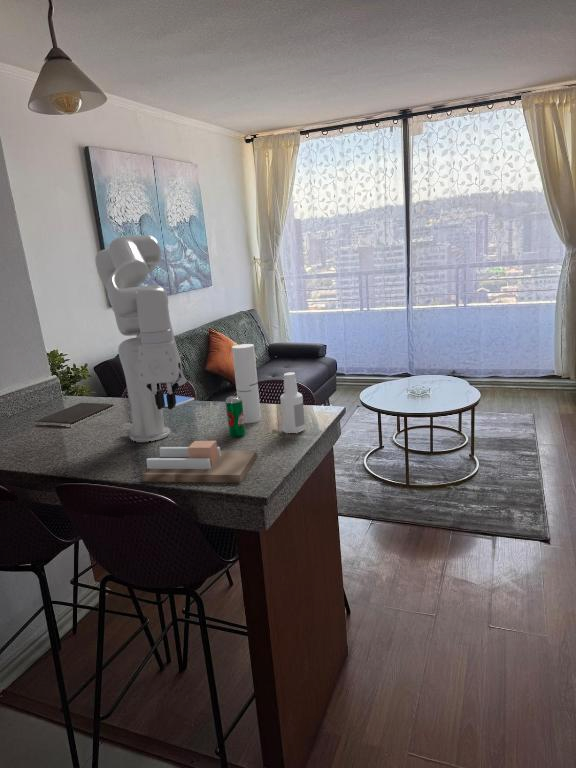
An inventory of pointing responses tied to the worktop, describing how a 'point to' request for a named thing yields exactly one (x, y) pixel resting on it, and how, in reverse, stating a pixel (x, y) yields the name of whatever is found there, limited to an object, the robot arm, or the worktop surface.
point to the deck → (208, 470)
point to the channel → (178, 459)
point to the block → (204, 450)
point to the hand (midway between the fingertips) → (166, 407)
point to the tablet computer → (179, 400)
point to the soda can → (235, 416)
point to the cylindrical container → (247, 381)
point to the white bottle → (292, 406)
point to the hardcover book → (75, 413)
